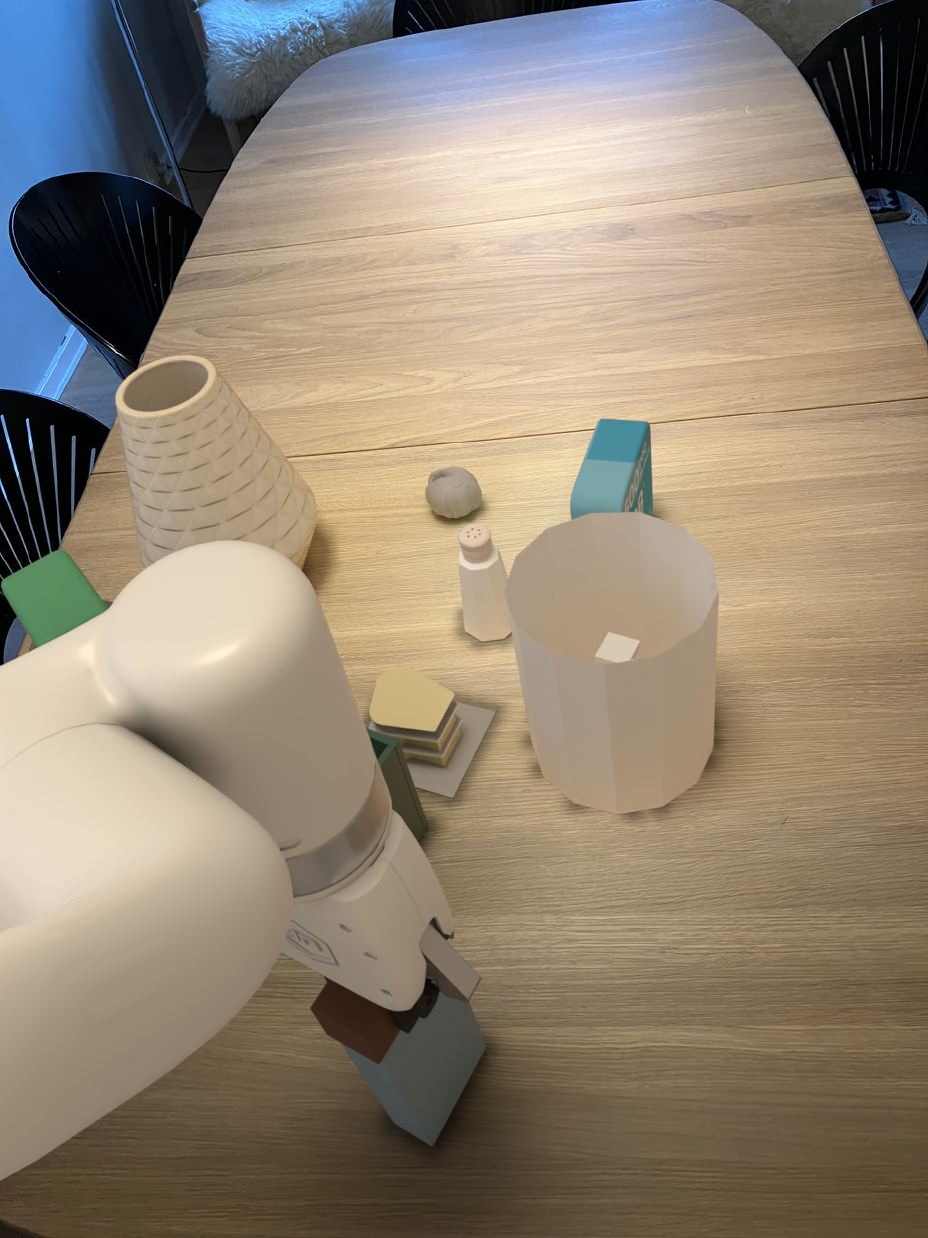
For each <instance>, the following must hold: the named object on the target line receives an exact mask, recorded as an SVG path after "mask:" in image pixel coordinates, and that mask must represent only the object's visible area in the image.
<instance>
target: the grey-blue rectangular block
mask: <svg viewBox="0 0 928 1238" xmlns="http://www.w3.org/2000/svg"><path fill="white" fill-rule="evenodd" d="M340 1044H341V1045H342V1047H343V1048H344V1050H345V1051H346V1053H347V1055H348V1056H349V1057H350V1059H351V1060H352V1062H353V1064H354V1065H355V1066H356V1068H357V1069H358V1071H359V1072H360V1074H361V1076H362V1077H363V1079H364V1080H365V1081H366V1084H368V1087H370V1089H371V1091H372V1092H373V1094H374V1095H375V1097H376V1099H378V1101H379V1103H380V1104H381V1106H382V1107H383V1109H384V1110H385V1112H386V1113H387V1115H388V1116H389V1118H390V1119H391V1121H392V1122H393V1124H394V1125H396V1126H398V1128H400V1129H402V1130H404V1131H406V1132H407V1133H409V1134H411V1135H412V1136H414V1137H416V1138H418V1139H419V1140H420V1141H422V1142H424V1143H426V1144H427V1145H429V1146H431V1147H433V1146H434V1145H435V1144H436V1141H437V1139H438V1138H439V1136H440V1134H441V1133H442V1130H443V1128H444V1127H445V1125H446V1123H447V1121H448V1119H449V1117H450V1116H451V1114H452V1112H453V1110H454V1108H455V1106H456V1105H457V1103H458V1101H459V1099H460V1097H461V1095H462V1094H463V1091H464V1089H465V1088H466V1085H467V1084H468V1082H469V1080H470V1078H471V1077H472V1075H473V1073H474V1071H475V1069H476V1067H477V1065H478V1064H479V1061H480V1060H481V1059H482V1056H483V1055H484V1053H485V1050H486V1049H487V1044H486V1041H485V1039H484V1036H483V1033H482V1031H481V1028H480V1025H479V1023H478V1021H477V1018H476V1015H475V1013H474V1010H473V1008H472V1005H471V1002H470V1001H469V1002H464V1001H460V1000H457V999H453V998H449V997H445V996H444V995H443V993H441V992H439V996H438V1000H437V1002H436V1004H435V1006H434V1008H433V1009H432V1011H431V1013H430V1014H429V1016H428V1017H427V1018H425V1019H423V1018H421V1017H419V1019H418V1020H417V1022H416V1024H415V1026H414V1027H413V1029H412V1030H411V1032H410V1033H409V1034H407V1033H405V1032H403V1031H402V1030H400V1031H399V1033H398V1034H397V1036H396V1038H395V1039H394V1041H393V1043H392V1044H391V1046H390V1048H389V1049H388V1051H387V1053H386V1054H385V1056H384V1058H383V1059H382V1061H381V1063H380V1064H376V1063H375V1062H373V1061H371V1060H369V1059H368V1058H366V1057H364V1056H363V1055H361V1054H359V1053H357V1052H356V1051H354V1050H352V1049H351V1048H349V1047H347V1046H345V1045H344V1044H342V1043H340Z"/></svg>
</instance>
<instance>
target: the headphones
mask: <svg viewBox="0 0 928 1238" xmlns="http://www.w3.org/2000/svg"><path fill="white" fill-rule="evenodd" d="M0 587H1V589H2V590H1V591H2V593H3V595H4V596H5V599H7V602H8V603H9V605H10V607H11V608H12V611H13V612H14V614H15V615H16V617H17V619H18V620H19V621H20V623H21V625H22V626H23V628H24V630H25V632H26V633H27V635H28V636H29V638H30V639H31V642H30V645H29V649H28V652H30V651H32V650H34V649H36V648H38V647H40V646H42V645H44V644H46V643H48V642H50V641H52V640H54V639H56V638H58V637H60V636H62V635H64V634H66V633H68V632H70V631H71V630H73V629H75V628H77V627H78V626H80V625H82V624H84V623H86V622H87V621H89V620H91V619H93V618H95V617H96V616H98V615H100V614H102V613H103V612H105V611H106V610H108V609H109V608H110V606H111V605H112V603H113V602H114V601H110V600H104V599H102V597H101V596H100V594H99V593H98V591H97V590H96V589H95V587H94V586H93V584H92V583H91V582H90V581H89V579H88V577H87V576H86V574H84V572H83V571H82V569H81V568H80V566H78V564H77V563H76V561H75V559H74V558H73V557H72V556H71V555H70V554H69V553H68V552H67V551H66V550H63V549H57V550H55V551H52V552H50V553H48V554H46V555H45V556H43V557H40V558H39V559H37V560H36V561H34V562H31V563H30V564H28V565H26V566H25V567H23V568H21V569H19V570H17V571H16V572H14V573H12V574H10V575H8V576H6V577H5V578H4V579H3V580H2V581H1V583H0Z"/></svg>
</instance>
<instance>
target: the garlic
mask: <svg viewBox="0 0 928 1238" xmlns="http://www.w3.org/2000/svg"><path fill="white" fill-rule="evenodd" d="M424 494H425V500H426V502H427V504H428V505H429V506H430V509H431V510H432V511H433V512H434V514H435V515H440V516H443V517H445V518H448V519H453V518H454V519H459V518H462V517H465V516H467V515H469V514H470V513H471V512H472V511H474V510H476V509H478V507H480V505H481V503H482V497H483V491H482V487H480V484H479V482H478V480H477V478H476V477H475V475H474V474H473V473H472V472H470V471H469V470H468V469H466V468H464V467H461V466H453V465H452V466H448V467H443V468H439V469H437V470H435V471H432V472H430V474H429V475H428V480H427V485H426V486H425V492H424Z"/></svg>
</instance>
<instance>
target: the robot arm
mask: <svg viewBox="0 0 928 1238" xmlns="http://www.w3.org/2000/svg"><path fill="white" fill-rule="evenodd" d="M112 602H113V603H112V605H111V606H110V608H109V609H108V610H106V611H105V612H103V613H102V614H100V615H98V616H96V617H95V618H93V619H91V620H89V621H87V622H86V623H84V624H82V625H80V626H78V627H77V628H75V629H73V630H71V631H70V632H68V633H66V634H64V635H62V636H60V637H58V638H56V639H54V640H52V641H50V642H48V643H46V644H44V645H42V646H40V647H38V648H36V649H34V650H32V651H30V652H29V651H28V652H26V653H25V654H22V655H20V656H17V657H16V658H14V659H12V660H10V661H8V662H6V663H4V664H1V665H0V1181H2V1180H4V1179H6V1178H8V1177H10V1176H12V1175H13V1174H15V1173H17V1172H18V1171H20V1170H22V1169H24V1168H26V1167H29V1165H32V1164H33V1163H35V1162H38V1160H40V1159H41V1158H43V1157H44V1156H46V1155H47V1154H50V1153H51V1152H52V1151H53V1150H55V1149H57V1148H58V1147H59V1146H61V1145H62V1144H64V1143H66V1142H67V1141H68V1140H71V1139H72V1138H73V1137H74V1136H76V1135H78V1134H79V1133H81V1132H82V1131H83V1130H85V1129H87V1128H88V1127H89V1126H91V1125H92V1124H94V1123H96V1122H98V1120H100V1119H102V1118H103V1117H105V1116H106V1115H108V1114H109V1113H111V1112H112V1111H113V1110H115V1109H117V1108H118V1107H119V1106H121V1105H123V1104H124V1103H126V1102H127V1101H128V1100H130V1099H132V1098H133V1097H134V1096H136V1095H137V1094H139V1093H141V1092H142V1091H144V1090H146V1089H147V1088H148V1087H149V1086H151V1085H153V1084H154V1083H155V1082H157V1081H158V1080H160V1079H161V1078H162V1077H163V1076H165V1075H166V1074H168V1073H170V1071H172V1070H173V1069H175V1068H176V1067H178V1066H179V1065H180V1064H181V1063H182V1062H183V1061H184V1060H186V1059H187V1058H188V1057H189V1056H191V1055H192V1054H193V1053H194V1052H196V1051H197V1050H199V1049H200V1048H201V1047H202V1046H203V1045H205V1044H206V1043H207V1042H209V1041H210V1040H212V1039H213V1038H214V1037H215V1036H216V1035H217V1034H218V1033H219V1032H220V1031H221V1030H222V1029H223V1028H224V1027H226V1025H228V1024H229V1022H231V1021H232V1020H233V1018H235V1017H236V1016H237V1015H238V1014H239V1013H240V1012H241V1011H242V1009H243V1008H244V1007H246V1005H247V1004H248V1002H249V1001H250V1000H251V999H252V998H253V996H254V995H255V994H256V993H257V992H258V991H259V989H260V988H261V987H262V985H263V984H264V982H265V981H266V979H267V978H268V976H269V974H270V973H271V971H273V968H274V966H275V964H276V963H277V961H278V959H279V956H280V955H281V953H282V954H284V955H286V956H288V957H289V958H291V959H293V960H295V961H297V962H298V963H300V964H301V965H304V966H305V967H307V968H309V969H311V970H313V971H314V972H316V973H318V974H319V975H322V976H323V978H324V979H325V981H326V982H327V981H328V980H329V979H331V980H333V981H334V982H336V983H338V984H340V985H342V986H344V987H345V988H347V989H349V990H351V991H353V992H355V993H357V994H358V995H360V996H362V997H364V998H366V999H368V1000H370V1001H372V1002H374V1003H376V1004H378V1005H380V1006H382V1007H384V1008H387V1009H389V1010H390V1012H391V1014H392V1016H393V1018H394V1020H395V1022H396V1024H397V1026H398V1028H399V1029H400V1030H402V1031H403V1032H405V1033H407V1034H409V1033H410V1032H411V1030H412V1029H413V1027H414V1026H415V1024H416V1022H417V1020H418V1019H419V1017H421V1018H423V1019H425V1018H427V1017H428V1016H429V1014H430V1013H431V1011H432V1009H433V1008H434V1006H435V1004H436V1002H437V1000H438V996H439V992H441V993H443V995H444V996H445V997H449V998H453V999H457V1000H460V1001H464V1002H470V1000H471V999H472V997H473V996H474V994H475V991H476V990H477V988H478V986H479V984H480V982H481V981H482V977H481V975H480V974H479V973H478V972H477V971H476V970H475V969H474V967H472V966H471V965H470V964H469V962H468V961H467V960H466V959H465V958H464V957H462V955H461V954H460V953H459V952H458V951H457V950H456V949H455V948H454V946H452V945H451V944H450V943H449V942H448V940H453V939H455V933H456V931H455V922H454V918H453V914H452V910H451V907H450V904H449V902H448V900H447V899H448V898H447V897H446V894H445V892H444V889H443V886H442V885H441V882H440V880H439V878H438V876H437V874H436V872H435V870H434V868H433V866H432V864H431V863H430V861H429V858H428V857H427V855H426V853H425V852H424V850H423V848H422V847H421V845H420V842H419V843H418V842H417V840H416V839H415V837H414V835H413V834H412V832H411V831H410V830H409V828H408V827H407V825H406V824H405V822H404V821H403V819H402V818H401V816H400V815H399V814H398V813H396V812H395V811H394V810H393V809H392V801H391V797H390V793H389V790H388V787H387V784H386V782H385V779H384V776H383V774H382V771H381V768H380V766H379V763H378V760H377V757H376V755H375V752H374V749H373V746H372V744H371V741H370V738H369V735H368V732H367V730H366V728H367V727H366V725H365V722H364V719H363V716H362V713H361V711H360V707H359V705H358V702H357V699H356V697H355V694H354V691H353V689H352V686H351V683H350V680H349V678H348V676H347V672H346V669H345V667H344V663H343V661H342V659H341V655H340V654H339V653H340V652H339V650H338V648H337V645H336V643H335V640H334V637H333V634H332V631H331V629H330V627H329V623H328V620H327V618H326V615H325V612H324V610H323V606H322V604H321V602H320V600H319V598H318V595H317V593H316V590H315V588H314V586H313V585H312V582H311V581H310V580H309V578H308V577H307V575H305V573H304V572H303V570H302V571H301V569H300V568H299V567H298V566H297V565H295V564H294V563H293V562H292V561H291V560H289V559H288V558H287V557H286V556H284V555H283V554H281V553H279V552H277V551H275V550H273V549H271V548H269V547H266V546H263V545H260V544H256V543H253V542H247V541H239V540H224V541H213V542H208V543H202V544H198V545H194V546H191V547H187V548H184V549H181V550H179V551H176V552H174V553H171V554H169V555H167V556H166V557H164V558H162V559H160V560H158V561H156V562H155V563H153V564H152V565H150V566H149V567H147V568H146V569H145V568H144V569H143V570H142V571H140V572H139V573H138V574H137V575H135V576H134V577H133V578H132V579H131V580H130V581H129V582H128V583H127V584H126V585H125V586H124V588H123V589H122V590H121V591H120V592H119V593H118V594H117V596H116V598H115V599H114V600H113V601H112Z"/></svg>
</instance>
